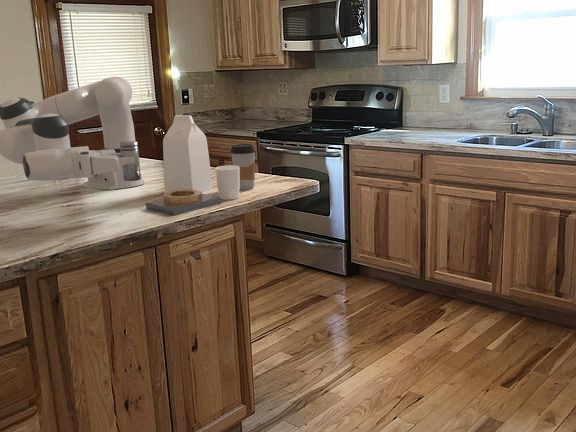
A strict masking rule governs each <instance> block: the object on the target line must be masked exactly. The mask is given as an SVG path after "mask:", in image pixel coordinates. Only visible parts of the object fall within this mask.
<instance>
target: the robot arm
mask: <svg viewBox="0 0 576 432" xmlns="http://www.w3.org/2000/svg"><path fill="white" fill-rule="evenodd" d="M132 97H133V89H132V86H131V84H130V83H129V81H128V80H126V79H125V78H123V77H120V76H111V77H106V78H103V79H102V80H100V81H96V82H92V83H89V84H87V85H86V84H85V85H82V86H79V87H76V88H73V89H70V90H67V91H64V92H61V93H58V94H54V95H52V96H49V97H46V98H44V99H43V100H40V101H39V102H37V103H36V102H35V101H31V100H29V99H27V98H25V97H24V98H23V97H20V96H19V97H12V98H9V99H7V100H5V101H4V102H2V103H1V104H0V120H2V123H3V127H4V128H3V129H1V130H0V155H1V156H2V157H3V158H5V160H6V159H7V160H8V161H10V162H13V163H15V164H21V165H22V166H23V167H22V168H23V171H24V176H25V177H26V179H27V180H28V181H38V182H42V181H44V182H48V181H60V180H61V181H62V180H65V179H81V178H85V179H86V178H87V181H85V182H83V183H82V184H81V188H86V189H97V190H98V189H99V190H106V191H107V190H109V191H113V190H119V189H126V188H127V189H129V188H132V187H133V188H134V187H137V186H141V185H143V184H145V182H144V179H143V175H142V173H141V172H140V174H141V179H140V180H137V181H124V179H123V169H122V165H125V164H129V163H134V162H135V159H134V157H133V156H129V157H121V150H120V142H126V141H136V136H135V134H136V133H135V126H134V121H133V117H132V110H131V105H130V101H131V100H132ZM96 116H99V119H100V123H101V129H102V134H103V135H102V136H103V144H104V147H103V148H102V149H100V150H95V149H94V150H89V149H90V148H89V146H88V145H85V146H75V147H72V146H71V141H70V134H69V133H70V131H69V130H70V125H71V124H74V123H78V122H81V121H83V120H87V119H89V118H92V117H96Z"/></svg>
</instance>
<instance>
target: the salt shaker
mask: <svg viewBox="0 0 576 432" xmlns="http://www.w3.org/2000/svg"><path fill="white" fill-rule="evenodd" d="M120 150H121V157H129V156H133V157H134V159H135V162H134V163H129V164H125V165H122V169H123V179H124V181H137V180H140V179H141V176H142V173H141V165H140V164H141V163H140V155H139V142H138V141H136V140H135V141H126V142H120ZM140 173H141V174H140Z"/></svg>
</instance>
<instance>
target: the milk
mask: <svg viewBox="0 0 576 432" xmlns="http://www.w3.org/2000/svg"><path fill="white" fill-rule="evenodd" d="M162 151H163V152H162V153H163V181H164V183H163V184H164V194H165V193H167V192H170V191H175V190H184V189H193V190H199V191H201V192H202V194H205V193H206V192H209V191H212V190H214V187H213V186H214V185H213V179H212V177H213V176H212V169H211V163H210V155H209V147H208V139H207V136H206V135H205V133H204V132H203V131H202V130H201V129H200V127H199V126H197V124H196V123H195V121H194V119H193V117H192V115H185V114H184V115H180V114H179V115H178V114H177V115H174V117H173V121H172V125H171V126H170V127H169V128H168V131H166V133H165V135H164V137H163V140H162Z"/></svg>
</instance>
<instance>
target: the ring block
mask: <svg viewBox="0 0 576 432" xmlns="http://www.w3.org/2000/svg"><path fill="white" fill-rule="evenodd" d="M218 204H221V199H220V197H219V196H215V195H210V194H205V193H202V192H201V191H199V190H193V189H184V190H175V191H170V192H167V193H165V192H164V193H163V197H162V198H159V199H155V200H150V201H146V202H145V208H146V210H149V211H154V212H158V213H162V212H163V213H164V214H167V215H171V216H176V215H180V214H184V213H185V214H186V213H188V212H191V211H195V210H199V209H203V208H207V207H210V206H215V205H218ZM163 213H162V214H163Z"/></svg>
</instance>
